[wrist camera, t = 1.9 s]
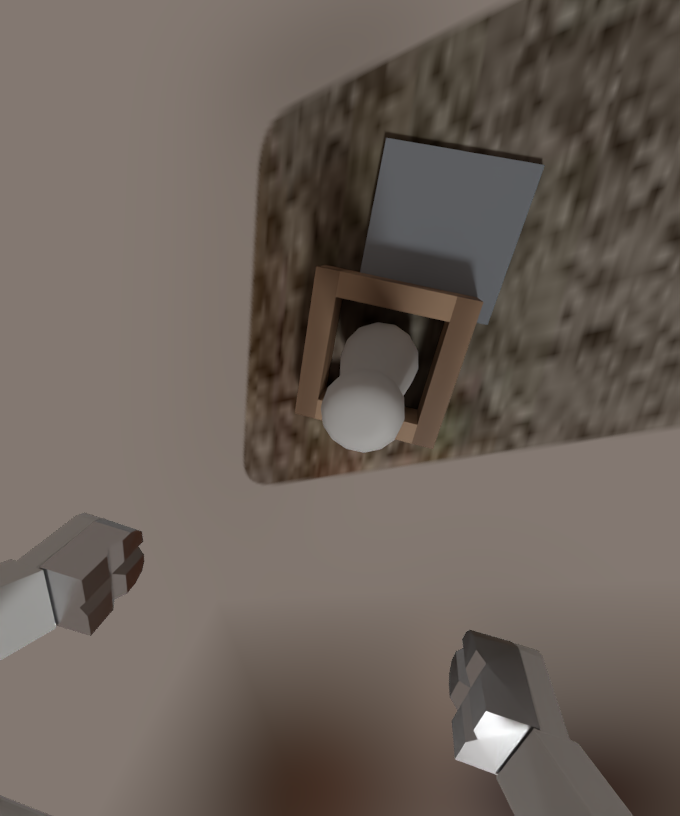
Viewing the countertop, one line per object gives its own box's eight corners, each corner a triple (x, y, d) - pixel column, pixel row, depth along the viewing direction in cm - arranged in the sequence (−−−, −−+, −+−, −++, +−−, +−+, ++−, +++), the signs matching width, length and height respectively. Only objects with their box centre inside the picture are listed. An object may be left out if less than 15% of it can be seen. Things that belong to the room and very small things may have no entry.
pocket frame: (476, 297, 26) (483, 302, 24) (431, 431, 31) (432, 449, 28) (326, 264, 27) (316, 266, 25) (305, 399, 32) (294, 413, 30)
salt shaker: (358, 394, 31) (322, 480, 19) (337, 329, 29) (283, 381, 18) (426, 377, 29) (432, 460, 18) (408, 307, 28) (402, 349, 16)
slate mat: (542, 166, 23) (544, 165, 22) (486, 324, 27) (487, 325, 26) (386, 139, 24) (386, 137, 23) (356, 295, 28) (355, 295, 28)
